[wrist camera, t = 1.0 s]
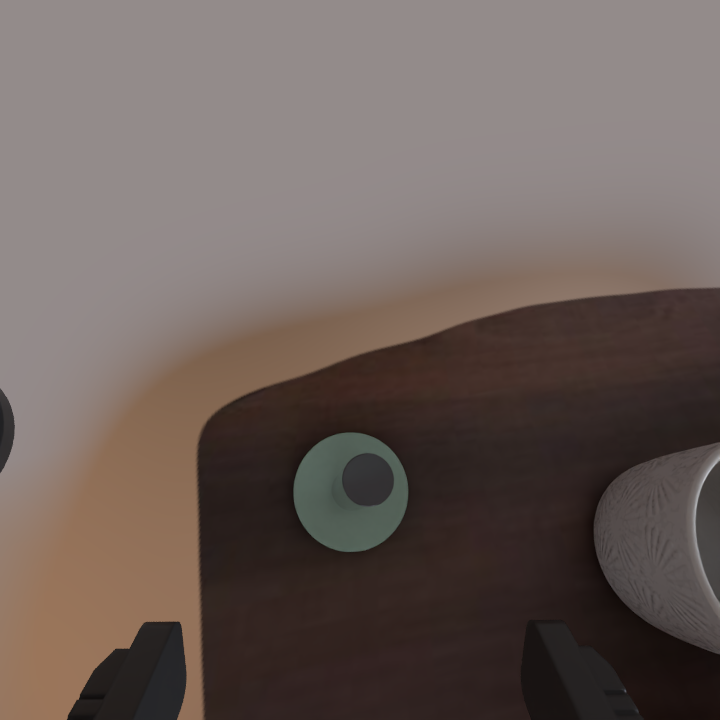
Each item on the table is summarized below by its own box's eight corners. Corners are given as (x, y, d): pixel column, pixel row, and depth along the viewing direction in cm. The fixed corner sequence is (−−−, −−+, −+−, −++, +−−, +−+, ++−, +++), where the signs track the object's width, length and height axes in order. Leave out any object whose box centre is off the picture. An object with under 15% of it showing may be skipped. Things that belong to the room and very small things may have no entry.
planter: (756, 619, 35) (950, 659, 24) (603, 654, 32) (744, 714, 22) (694, 449, 38) (840, 421, 28) (553, 470, 36) (655, 449, 26)
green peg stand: (277, 532, 33) (271, 534, 24) (313, 421, 35) (319, 388, 27) (389, 565, 33) (423, 580, 24) (416, 453, 36) (454, 430, 27)
